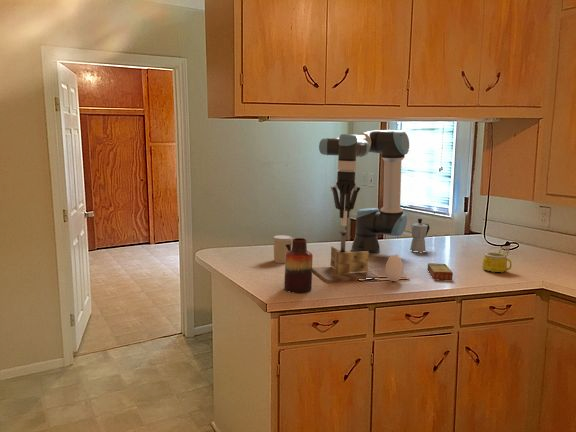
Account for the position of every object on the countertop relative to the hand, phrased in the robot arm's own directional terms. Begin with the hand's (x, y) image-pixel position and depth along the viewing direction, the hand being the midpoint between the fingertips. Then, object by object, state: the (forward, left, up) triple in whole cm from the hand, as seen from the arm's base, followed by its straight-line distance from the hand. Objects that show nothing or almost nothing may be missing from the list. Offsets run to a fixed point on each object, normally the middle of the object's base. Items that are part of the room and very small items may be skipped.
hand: (343, 225), depth 220 cm
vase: (+25, +14, -23) cm, 37 cm away
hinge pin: (0, 0, -13) cm, 13 cm away
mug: (-77, +6, -23) cm, 80 cm away
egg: (-19, +12, -23) cm, 32 cm away
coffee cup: (+18, -31, -23) cm, 43 cm away
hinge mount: (-2, -2, -23) cm, 23 cm away
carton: (-45, +8, -23) cm, 51 cm away
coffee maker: (-63, -39, -23) cm, 78 cm away
